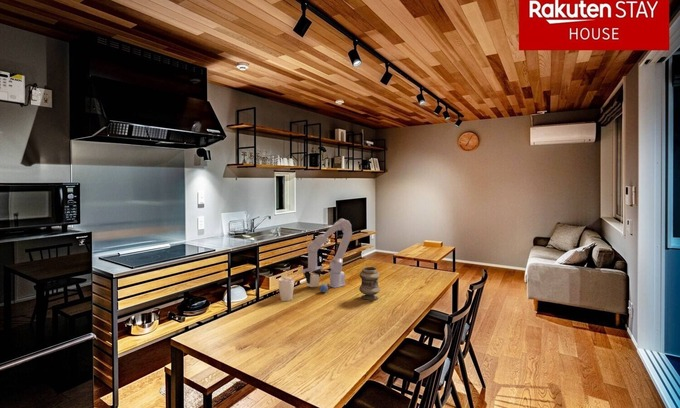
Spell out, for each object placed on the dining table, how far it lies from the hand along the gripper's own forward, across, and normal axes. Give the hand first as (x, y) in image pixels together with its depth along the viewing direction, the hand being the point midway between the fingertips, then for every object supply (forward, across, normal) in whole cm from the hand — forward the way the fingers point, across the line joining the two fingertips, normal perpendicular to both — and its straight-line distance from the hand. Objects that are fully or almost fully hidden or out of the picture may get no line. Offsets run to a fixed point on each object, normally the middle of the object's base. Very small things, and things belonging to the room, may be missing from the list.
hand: (312, 282), depth 224 cm
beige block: (+2, 0, 0) cm, 2 cm away
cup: (+4, +24, +8) cm, 26 cm away
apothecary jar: (+4, -15, +37) cm, 40 cm away
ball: (+1, 0, +12) cm, 12 cm away
